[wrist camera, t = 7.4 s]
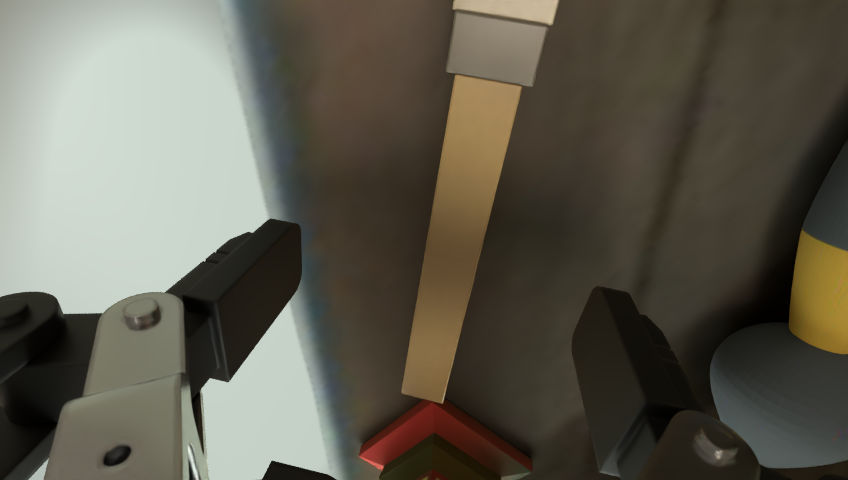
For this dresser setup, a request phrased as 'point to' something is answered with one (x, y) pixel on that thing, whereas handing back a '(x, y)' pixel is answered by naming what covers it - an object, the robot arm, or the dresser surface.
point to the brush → (470, 171)
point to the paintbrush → (797, 350)
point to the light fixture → (442, 448)
